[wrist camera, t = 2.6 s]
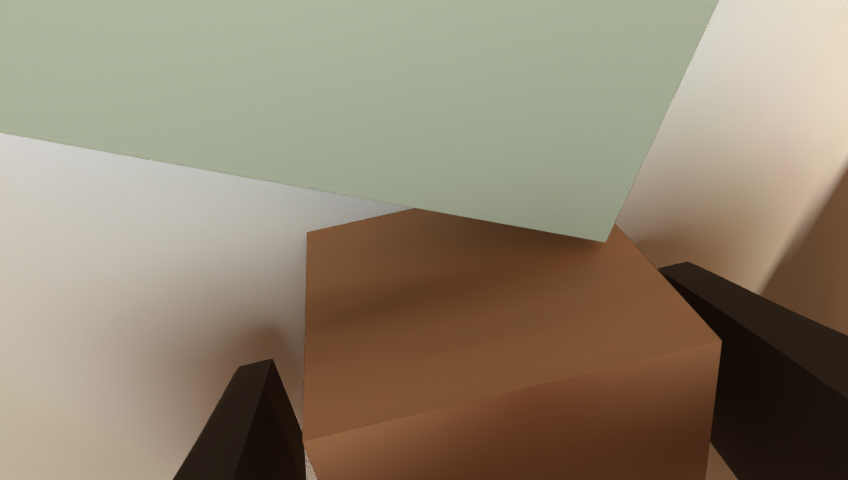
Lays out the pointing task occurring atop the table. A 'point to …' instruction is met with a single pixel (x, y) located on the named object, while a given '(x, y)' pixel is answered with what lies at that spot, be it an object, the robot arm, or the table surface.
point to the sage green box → (365, 94)
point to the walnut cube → (499, 356)
